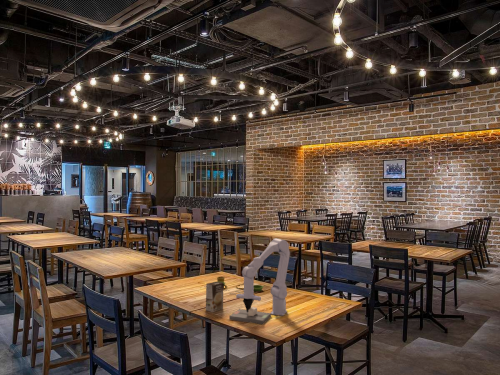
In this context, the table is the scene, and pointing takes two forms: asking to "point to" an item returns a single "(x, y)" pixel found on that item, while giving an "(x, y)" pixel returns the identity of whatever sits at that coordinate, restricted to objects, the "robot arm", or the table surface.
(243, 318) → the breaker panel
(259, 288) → the tableware set
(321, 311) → the table surface
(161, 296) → the table surface
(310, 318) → the table surface
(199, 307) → the table surface
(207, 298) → the coffee box
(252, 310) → the breaker knob
